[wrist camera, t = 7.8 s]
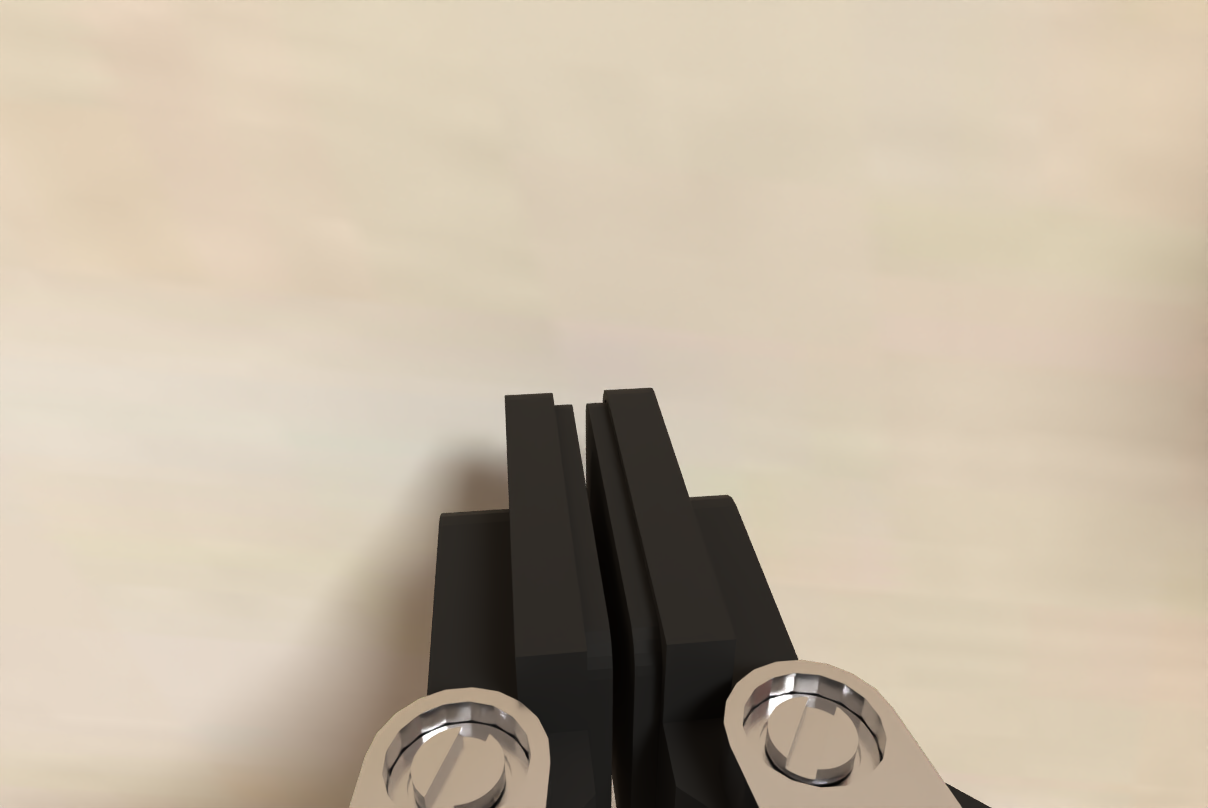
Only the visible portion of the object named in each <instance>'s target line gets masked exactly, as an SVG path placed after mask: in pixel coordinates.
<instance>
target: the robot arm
mask: <svg viewBox="0 0 1208 808" xmlns="http://www.w3.org/2000/svg"><path fill="white" fill-rule="evenodd" d="M505 414H506V439H507V464H508V489H509V509H502V510H487V511H472V512H456V513H441V516H440V522H439V533H438V548H437V562H436V576H435V590H434V605H433V619H432V633H431V648H430V662H429V676H428V691H427V696H425V697H422V698H419V699H418V700H416V701H414V702H413V703H411V704H410V705H408V706H406V707H405V708H403V709H401V710H400V711H398V712H397V713H395V714H394V715H393V716H392V717H391V718H390V720H389V721H388V722H387V723H386V724H385V725H384V726H383V727H382V728H381V729H380V730H379V731H378V732H377V733H376V735H375V737H374V739H373V741H372V743H371V745H370V747H369V749H368V751H367V753H366V755H365V758H364V761H363V764H362V767H361V770H360V774H359V777H358V780H357V783H356V786H355V789H354V793H353V796H352V799H351V802H350V805H349V808H611V786H612V779H613V786H614V793H615V800H616V807H617V808H991V807H989V806H987V805H985V804H983V803H981V802H980V801H978V800H976V799H974V798H972V797H970V796H969V795H967V794H965V793H963V792H961V791H959V790H958V789H956V788H954V787H952V786H950V785H948V784H947V783H945V782H944V781H943V779H942V778H941V776H940V775H939V774H938V772H937V771H936V769H935V768H934V766H933V765H932V763H931V762H930V761H929V759H928V758H927V756H926V755H925V753H924V752H923V750H922V749H921V747H920V746H919V745H918V743H917V742H916V740H915V739H914V737H913V736H912V734H911V733H910V732H909V730H908V729H907V727H906V726H905V724H904V723H903V721H902V720H901V719H900V717H899V716H898V714H897V713H896V711H895V710H894V708H893V707H892V706H891V705H890V704H889V703H888V702H887V701H886V700H885V698H884V697H883V696H882V695H881V694H880V693H879V692H878V691H877V690H876V689H875V688H874V687H872V686H871V685H869V684H868V683H866V682H865V681H863V680H862V679H860V678H859V677H857V676H856V675H854V674H852V673H850V672H847V671H845V670H842V669H839V668H837V667H834V666H832V665H829V664H825V663H818V662H812V661H806V660H798V658H797V655H796V653H795V650H794V648H793V645H792V643H791V640H790V638H789V635H788V633H787V630H786V628H785V625H784V623H783V620H782V618H781V615H780V613H779V610H778V608H777V605H776V603H775V601H774V598H773V596H772V593H771V591H770V588H769V586H768V583H767V581H766V578H765V576H764V573H763V571H762V568H761V566H760V563H759V561H758V558H757V556H756V553H755V551H754V548H753V546H752V543H751V541H750V539H749V536H748V534H747V531H746V529H745V526H744V524H743V521H742V519H741V516H740V514H739V511H738V509H737V506H736V504H735V503H734V501H733V499H732V497H730V496H728V495H719V496H703V497H689V495H688V492H687V489H686V486H685V483H684V480H683V477H682V474H681V471H680V468H679V465H678V462H677V459H676V456H675V453H674V450H673V447H672V444H671V441H670V438H669V435H668V432H667V429H666V426H665V423H664V420H663V417H662V414H661V411H660V408H659V405H658V402H657V399H656V396H655V393H654V390H653V388H638V389H619V390H604V394H603V403H590V404H587V405H586V484H585V478H584V472H583V466H582V460H581V454H580V448H579V442H578V436H577V430H576V424H575V418H574V412H573V407H572V405H554V399H553V393H542V394H523V395H505Z"/></svg>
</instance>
